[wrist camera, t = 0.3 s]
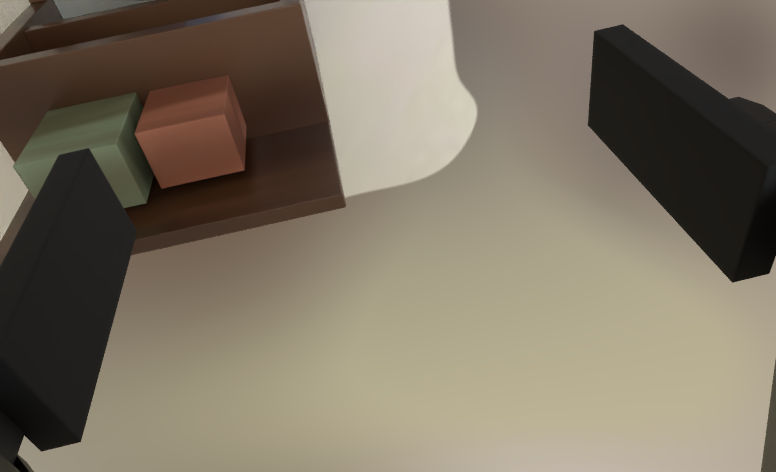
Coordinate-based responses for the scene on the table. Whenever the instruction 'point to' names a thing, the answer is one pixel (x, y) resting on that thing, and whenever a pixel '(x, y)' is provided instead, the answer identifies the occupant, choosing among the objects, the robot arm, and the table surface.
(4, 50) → the desk rack
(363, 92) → the table surface
